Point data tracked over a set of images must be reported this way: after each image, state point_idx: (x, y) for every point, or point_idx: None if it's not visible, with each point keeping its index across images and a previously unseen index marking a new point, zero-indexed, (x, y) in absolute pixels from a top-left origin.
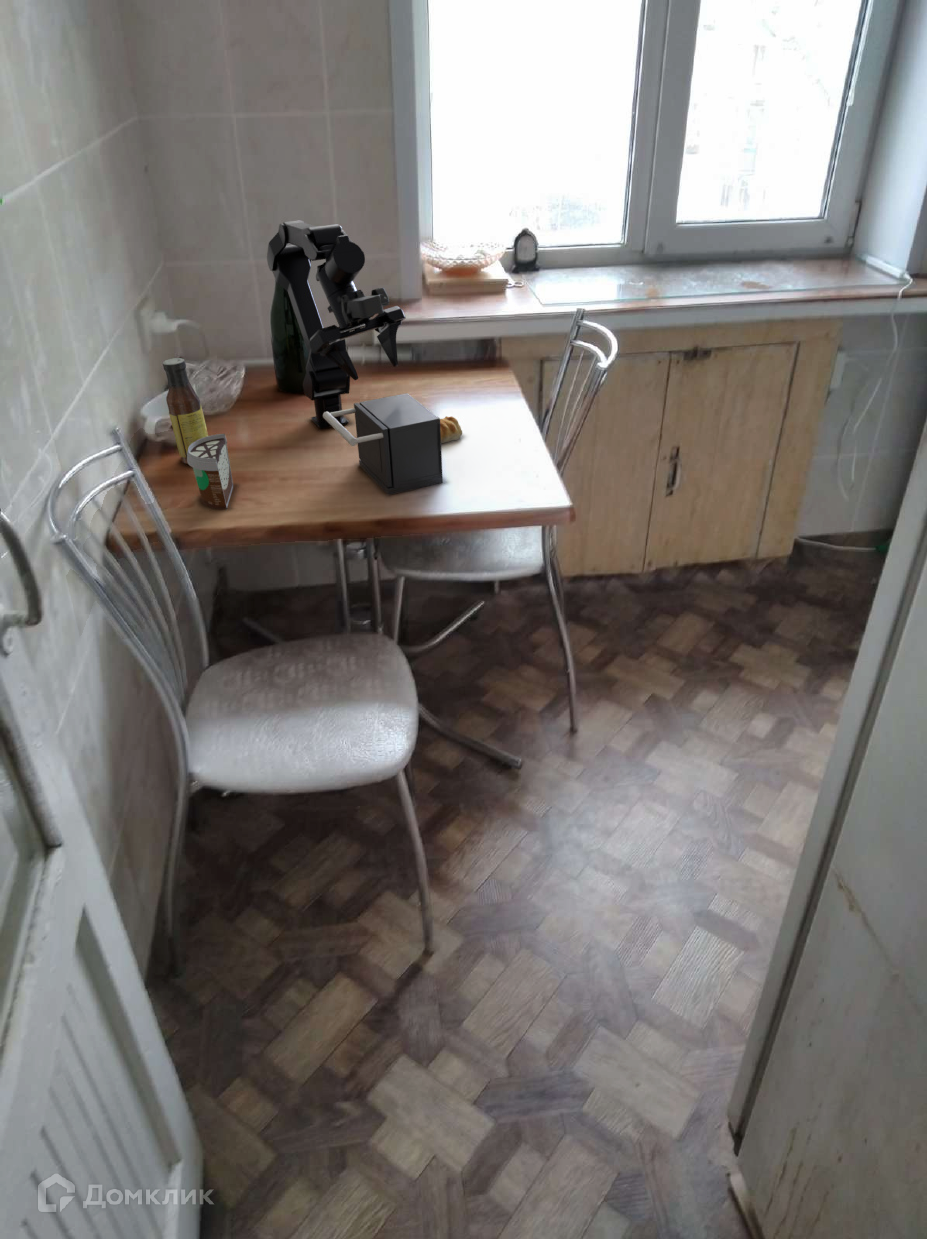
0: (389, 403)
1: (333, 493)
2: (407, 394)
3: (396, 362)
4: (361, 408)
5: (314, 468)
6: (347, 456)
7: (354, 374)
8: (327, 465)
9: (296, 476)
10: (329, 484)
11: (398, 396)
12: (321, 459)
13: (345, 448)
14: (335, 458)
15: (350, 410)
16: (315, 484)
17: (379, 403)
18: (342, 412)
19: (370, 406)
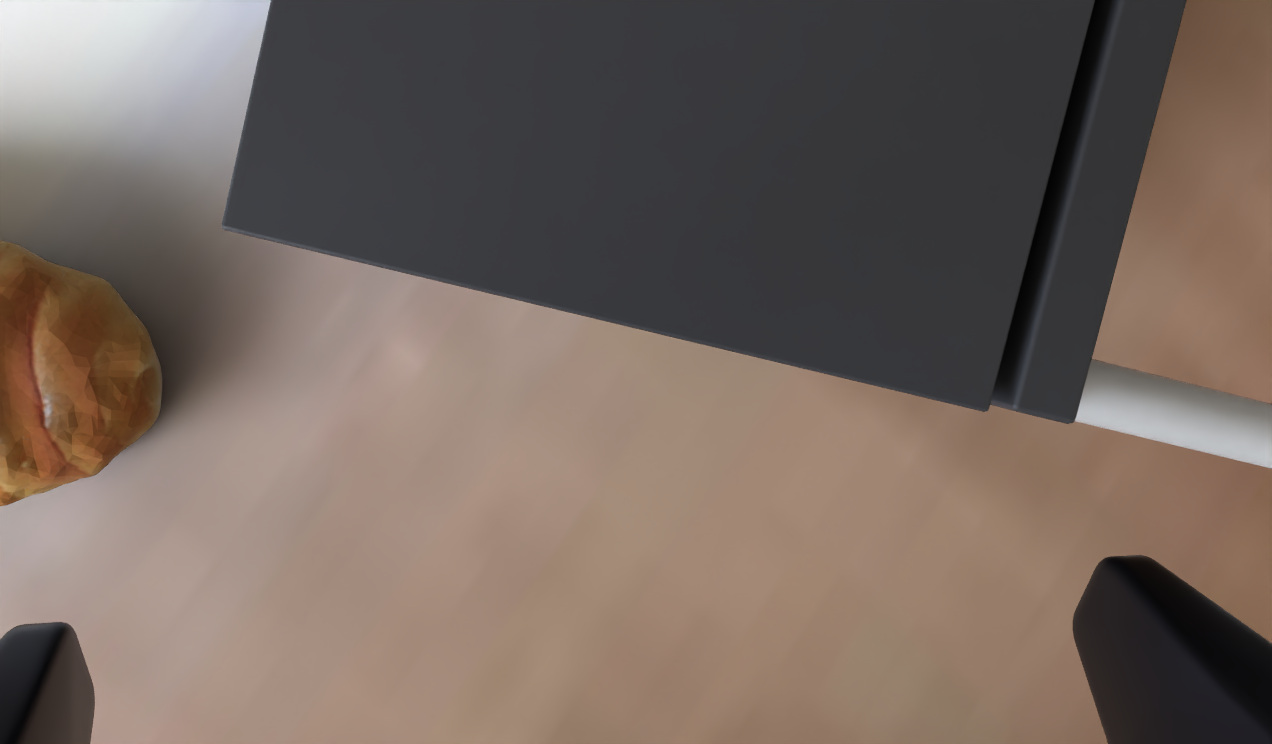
0: (710, 45)
1: (1230, 69)
2: (256, 172)
3: (28, 656)
4: (1113, 178)
5: (1085, 551)
6: (776, 579)
7: (1216, 610)
8: (986, 534)
9: (1254, 515)
10: (1165, 224)
11: (423, 199)
12: (956, 664)
13: (696, 729)
14: (867, 609)
15: (1124, 376)
16: (1235, 297)
17: (815, 159)
18: (1226, 395)
19: (981, 150)
